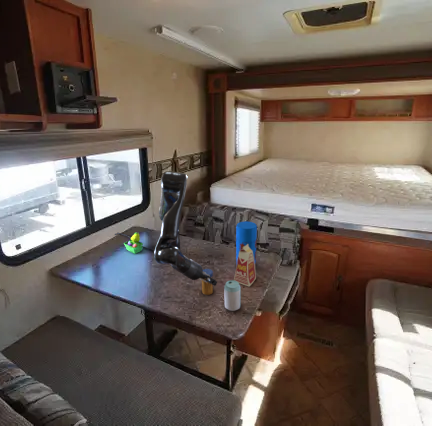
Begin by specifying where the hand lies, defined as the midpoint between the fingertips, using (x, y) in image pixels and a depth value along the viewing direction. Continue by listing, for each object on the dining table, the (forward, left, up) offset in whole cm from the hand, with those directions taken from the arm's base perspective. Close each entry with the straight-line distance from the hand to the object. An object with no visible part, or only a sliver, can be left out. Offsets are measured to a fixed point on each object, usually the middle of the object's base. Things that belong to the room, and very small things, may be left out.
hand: (209, 280), depth 137 cm
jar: (0, -2, -6) cm, 6 cm away
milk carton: (+7, +19, -6) cm, 21 cm away
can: (+16, -2, -6) cm, 17 cm away
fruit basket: (-66, -2, -6) cm, 66 cm away
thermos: (-1, +30, -6) cm, 30 cm away
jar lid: (0, -2, +5) cm, 5 cm away
